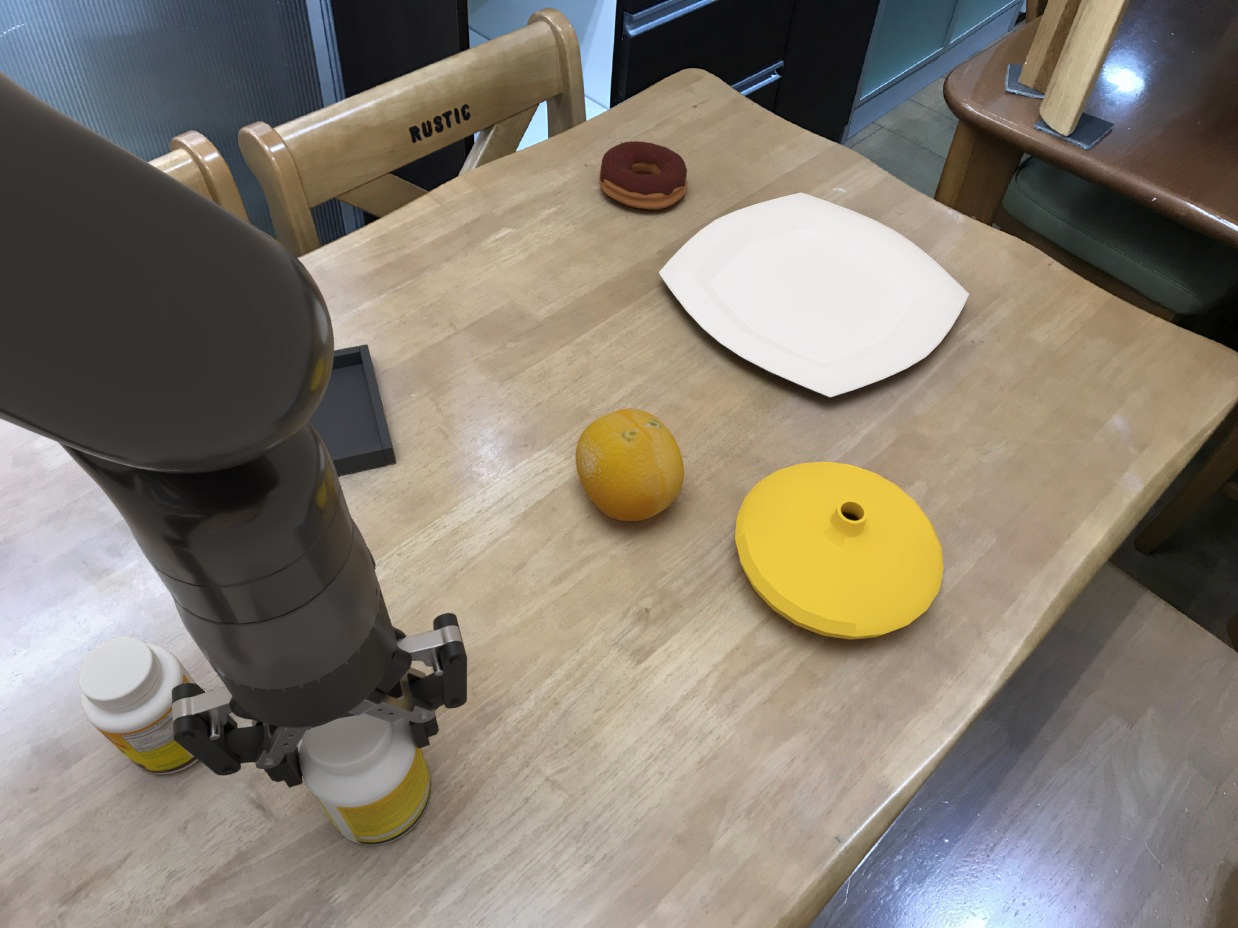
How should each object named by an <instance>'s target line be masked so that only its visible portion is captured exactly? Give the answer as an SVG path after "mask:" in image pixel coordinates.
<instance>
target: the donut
mask: <svg viewBox="0 0 1238 928" xmlns="http://www.w3.org/2000/svg"><path fill="white" fill-rule="evenodd" d="M598 174H599V175H598V178H599V185H600V186H599V187H600V188H601V190H602V191H603V193H605V195H607V196H608V197H610V198H611V199H613V200H615V201H616V202H618V203H621V204H623V205H626V206H628V207H631V208H636V209H640V210H648V211H658V210H662V209H666V208H669V207H671V206H672V205H674V204H676V203H678V202H679V201H680V200H681V199H682V198H683V197H684V195H685V194H686V192H687V187H688V181H687V180H688V179H687V176H688V168H687V166H686V162H685V160H684V159H683V157H682V156H681V155H680V154H679V153H677V152H675V151H674V150H672V149H670V148H668V147H667V146H663V145H659V144H656V143H652V142H648V141H640V140H639V141H637V140H634V141H632V140H631V141H625V142H623V141H621V142H620V143H619V144H616V145H614V146H613V147H611V148H609V149H608V150H607V151H606V152H604V154H603V156H602V159H601V164H600V170H599V173H598Z"/></svg>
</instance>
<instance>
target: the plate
mask: <svg viewBox="0 0 1238 928" xmlns="http://www.w3.org/2000/svg"><path fill="white" fill-rule="evenodd" d="M658 275H659V276H660V278H661V279H662V281H663V282H664V283H665V285H666V286H667V288H668V290H669V291H670V292H671V293H672V296H674V297H675V299H676V300H677V301H678V302H679V304H680V305H681V306H682V308H683V309H684V310H685V312H687V314H688V315H689V316H690V317H691V318H692V319H693V320H694V321H695V322H696V324H697V325H698V326H699V327H700V328H701V329H702V330H703V331H704V332H705V333H706V334H707V335H709V336H710V337H711V338H713V340H715V341H716V342H717V343H718V344H720V346H722V347H724V348H726V349H727V350H728V351H730V352H732V353H733V354H735V355H736V356H738V357H739V358H741V359H742V360H744V361H746V362H748V363H751V364H752V365H754V366H755V367H758V368H760V369H761V370H764V371H766V372H768V373H769V374H772V375H774V376H776V377H778V378H781V379H783V380H785V381H788V382H790V383H792V384H795V385H797V386H799V387H802V388H804V389H807V390H808V391H811V392H813V393H816V394H818V395H821V396H823V397H825V398H827V399H831V398H834V397H838V396H841V395H845V394H847V393H850V392H853V391H857V390H859V389H861V388H864V387H867V386H871V385H873V384H875V383H877V382H881V381H883V380H885V379H888V378H890V377H893V376H894V375H896V374H898V373H900V372H903V371H905V370H907V369H908V368H910V367H912V366H914V365H915V364H917V363H919V362H920V361H922V360H923V359H925V358H926V357H928V356H929V355H930V354H931V353H932V351H934V350H935V349H936V348H937V347H938V346H939V345H940V344H941V343H942V341H943V340H944V338H945V337H946V336H947V335H948V334H949V332H950V331H951V329H952V328H953V326H954V324H955V323H956V321H957V319H958V318H959V316H960V314H961V312H962V310H963V308H964V306H965V304H966V302H967V300H968V298H969V296H970V293H969V292H968V291H967V290H966V289H965V288H964V287H963V286H962V285H961V284H960V283H959V282H958V281H957V280H956V279H955V278H954V277H953V276H952V275H951V274H949V272H947V271H946V270H945V269H944V267H942V266H941V265H940V264H939V263H938V262H937V261H935V259H933V257H931V255H929V254H928V253H926V252H925V251H924V250H923V249H922V248H920V247H919V246H918V245H916V243H914V242H913V241H911V240H910V239H908V238H906V236H904V235H902V234H901V233H899V232H897V231H896V230H895V229H892V228H890V227H889V226H887V225H885V224H883V223H881V222H879V221H877V220H876V219H873V218H871V217H869V216H866V215H864V214H861V213H859V212H857V211H855V210H852V209H849V208H846V207H844V206H841V205H839V204H836V203H833V202H830V201H828V200H826V199H823V198H819V197H817V196H814V195H810V194H807V193H804V192H796V193H793V194H789V195H785V196H780V197H776V198H773V199H769V200H766V201H765V200H764V201H762V202H758V203H755V204H752V205H749V206H745V207H743V208H740V209H737V210H734V211H732V212H730V213H727V214H725V215H723V216H720V217H718V218H716V219H714V220H713V221H711V222H710V223H708V224H707V225H706V226H704V227H703V228H701V229H700V230H698V232H697V233H696V234H694V235H693V236H692V237H690V238H689V239H688V240H687V241H686V242H685V243H683V245H682V246H681V247H680V248H679V249H678V250H677V251H676V252H675V254H673V255H672V256H671V257H670V258H669V260H668V261H667V262H666V264H664V266H663V267H662V268H661V269H659V272H658Z"/></svg>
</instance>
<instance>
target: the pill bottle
mask: <svg viewBox="0 0 1238 928" xmlns="http://www.w3.org/2000/svg"><path fill="white" fill-rule="evenodd" d="M298 751H299V766H300V771H301V774H302V779H303V781H304V783H305V785H306V786H307V788H308V789H309V791H310V793H311V794H312V796H313V797H314V798H315V799H316V801H317V803H318V804H319V805H320V807H321V809H322V810H323V811H324V812H325V814H326V816H327V817H328V819H329V820H330V822H331V824H332V825H333V826H334V828H335V830H337V832H339V834H341V835H342V836H343V837H344V838H346V839H348V840H349V841H351V842H353V843H356V844H360V845H365V846H380V845H385V844H389V843H391V842H394V841H396V840H399V839H401V838H402V837H404V836H405V835H406V834H407V833H409V832H410V831H411V830H412V829H413V828H414V827H416V825H417V824H418V823H419V822H420V820H421V819H422V818H423V816H424V813H426V810H427V807H428V805H429V801H430V798H431V791H432V781H431V780H432V779H431V775H430V771H429V767H428V765H427V761H426V759H425V756H424V753H423V750H422V748H419V749H418V748H417V745H416V742H415V739H414V736H413V733H412V730H411V727H410V724H409V720H406V719H403V718H401V719H399V720H397V721H395V722H393V723H391V722H388V721H385V720H382V719H379V718H376V717H373V716H370V715H367V714H364V713H363V714H361V715H359V716H357V715H355V716H350V717H344V718H339V719H336V720H334V721H331V722H329V723H326V724H324V725H321V726H317V727H314V728H311V729H310V730H306V732H305V734H304V735H303V737H302V739H301V740H300V745H299V748H298Z"/></svg>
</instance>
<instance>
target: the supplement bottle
mask: <svg viewBox="0 0 1238 928" xmlns="http://www.w3.org/2000/svg"><path fill="white" fill-rule="evenodd" d="M193 678H194V677H192V676H191V674H190V673H189V671H188V670H187V669H186V668H185V667H184V665H183V664H182V662H181V661H180V660H179V658H178V657H177V656H176V655H175V654H174V653H173V652H172V651H171V650H169V649H168V648H167V647H165V646H163V645H160V644H157V643H152V642H144V641H143V640H141V639H139V638H137V637H132V636H119V637H115V638H112V639H109V640H107V641H104V642H102V643H100V644H99V645H97V646H96V647H95V648H94V649H92V650H91V651H90V652H89V653H88V654H87V656H85V658H84V659H83V660H82V662H81V664H80V666H79V669H78V673H77V683H78V687H79V690H80V695H79V696H80V697H79V699H80V700H79V701H80V708H81V710H82V713H83V715H84V717H85V718H86V720H87V721H88V722H89V723H90V724H91V725H92V726H93V727H94V728H95V729H96V730H97V731H99V732H100V734H102V735H103V736H104V737H105V738H106V739H107V740H108V741H109V742H110V743H112V745H114V746H115V747H116V748H117V749H118V750H119V751H120V753H122V754H123V755H124V756H125V757H127V758H128V760H130V761H131V762H132V763H133V764H134V765H135V766H137V767H138V768H139V769H141V770H143V771H144V772H147V773H149V774H153V775H170V774H174V773H178V772H181V771H183V770H185V769H187V768H190V767H191V766H193V765H194V764H195V763H197V762H198V761H199V760H198V759H197V758H196V757H194V756H193V755H192V754H191V753H189V752H188V751H187V750H186V749H184V748H183V747H182V746H181V745H180V744H178V743H177V742H176V741H175V740H174V739H173V714H172V689H173V688H174V687H176V686H177V685H180V684H184V683H195V684H197V682H196V681H195V679H193Z"/></svg>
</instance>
